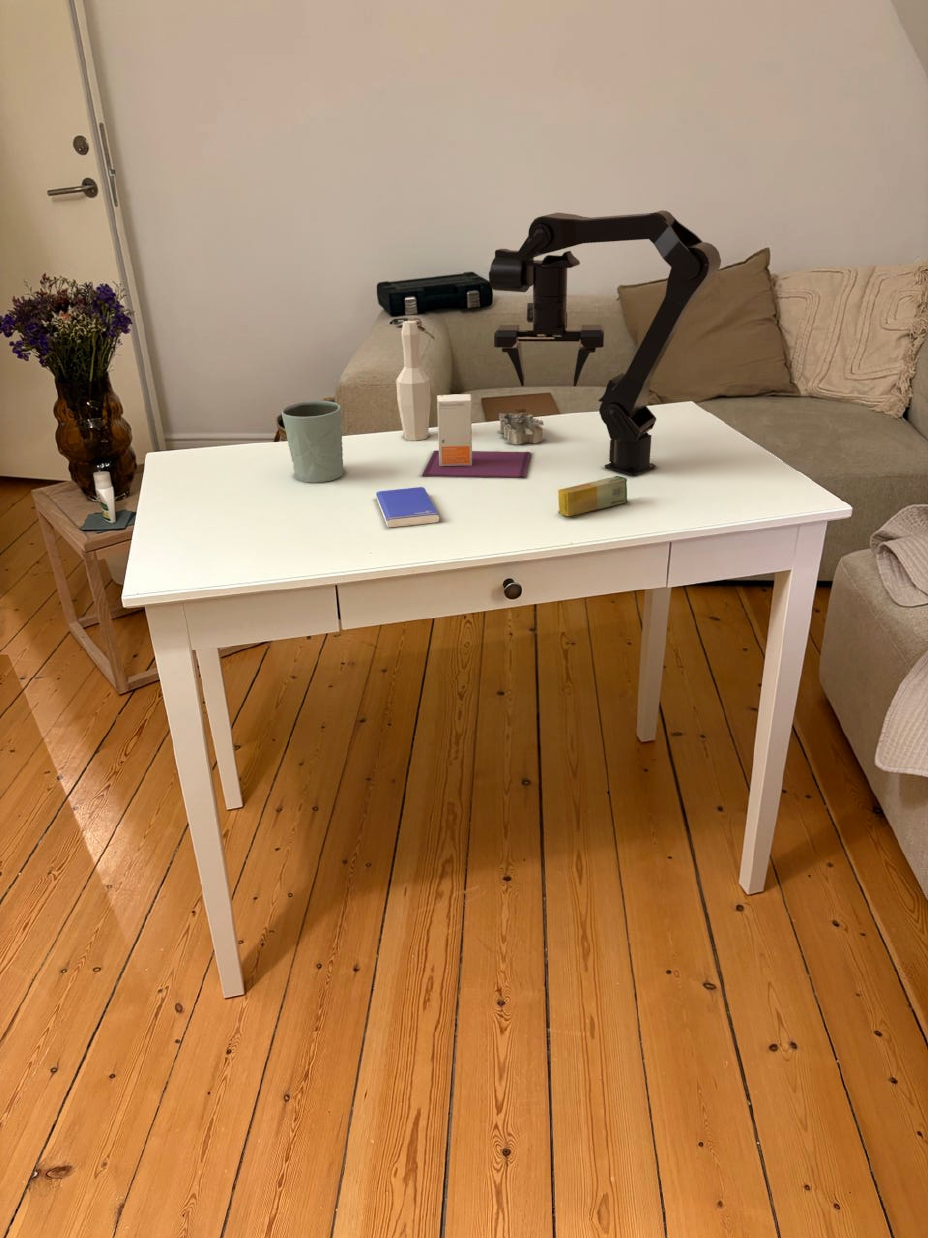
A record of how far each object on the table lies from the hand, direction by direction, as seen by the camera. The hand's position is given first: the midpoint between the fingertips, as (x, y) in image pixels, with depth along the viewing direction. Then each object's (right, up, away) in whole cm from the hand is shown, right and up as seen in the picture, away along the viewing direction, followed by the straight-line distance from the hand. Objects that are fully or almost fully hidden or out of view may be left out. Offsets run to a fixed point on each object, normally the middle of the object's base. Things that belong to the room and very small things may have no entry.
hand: (548, 385), depth 172 cm
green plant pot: (-41, -16, +1) cm, 44 cm away
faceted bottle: (-24, -6, +19) cm, 31 cm away
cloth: (-12, -14, +3) cm, 19 cm away
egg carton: (-4, -6, +17) cm, 19 cm away
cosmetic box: (-16, -13, +3) cm, 21 cm away
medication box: (+5, -24, -17) cm, 30 cm away
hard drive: (-24, -24, -16) cm, 37 cm away
